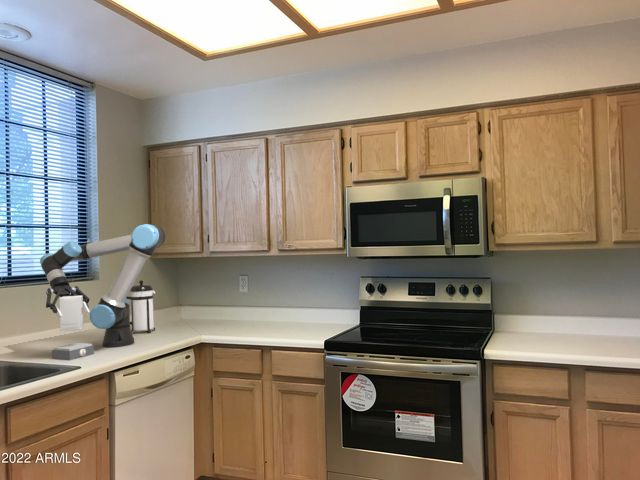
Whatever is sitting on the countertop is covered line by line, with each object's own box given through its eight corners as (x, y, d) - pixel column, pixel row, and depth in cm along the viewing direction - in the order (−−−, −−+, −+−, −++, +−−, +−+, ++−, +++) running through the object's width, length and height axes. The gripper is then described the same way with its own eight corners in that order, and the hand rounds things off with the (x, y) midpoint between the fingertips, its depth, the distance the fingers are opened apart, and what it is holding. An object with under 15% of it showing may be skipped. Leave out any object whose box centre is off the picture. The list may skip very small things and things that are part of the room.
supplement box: (82, 329, 231) (81, 296, 231) (59, 331, 228) (58, 297, 228) (84, 327, 239) (83, 294, 240) (62, 328, 236) (61, 296, 237)
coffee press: (148, 329, 307) (146, 279, 307) (161, 331, 296) (159, 279, 296) (119, 333, 295) (117, 281, 295) (132, 336, 284) (130, 281, 284)
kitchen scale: (76, 352, 242) (76, 342, 242) (95, 354, 237) (94, 343, 237) (52, 358, 230) (51, 348, 230) (71, 360, 225) (70, 349, 225)
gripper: (81, 284, 253) (97, 317, 243) (28, 288, 234) (44, 324, 224) (85, 273, 250) (102, 306, 240) (33, 277, 231) (49, 313, 221)
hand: (74, 315), depth 232 cm, fingers closed on supplement box, 12 cm apart
